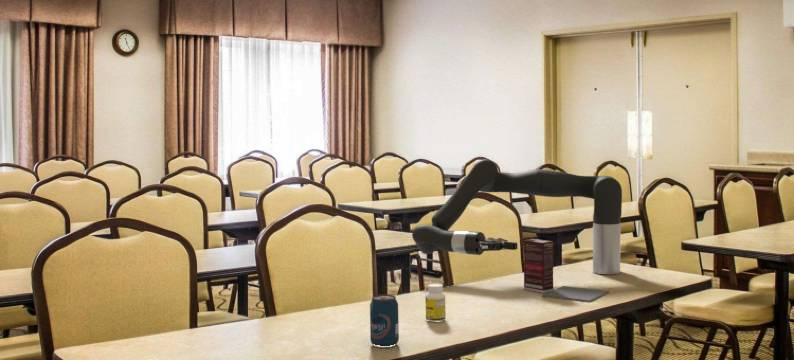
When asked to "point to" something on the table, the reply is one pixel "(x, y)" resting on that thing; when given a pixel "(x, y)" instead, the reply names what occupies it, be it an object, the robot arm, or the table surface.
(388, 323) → the soda can
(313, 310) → the table surface
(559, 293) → the mat
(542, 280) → the supplement box
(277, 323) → the table surface
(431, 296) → the supplement bottle
